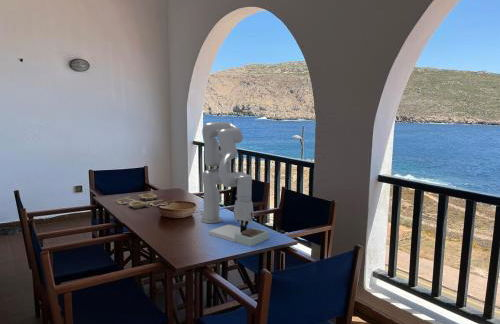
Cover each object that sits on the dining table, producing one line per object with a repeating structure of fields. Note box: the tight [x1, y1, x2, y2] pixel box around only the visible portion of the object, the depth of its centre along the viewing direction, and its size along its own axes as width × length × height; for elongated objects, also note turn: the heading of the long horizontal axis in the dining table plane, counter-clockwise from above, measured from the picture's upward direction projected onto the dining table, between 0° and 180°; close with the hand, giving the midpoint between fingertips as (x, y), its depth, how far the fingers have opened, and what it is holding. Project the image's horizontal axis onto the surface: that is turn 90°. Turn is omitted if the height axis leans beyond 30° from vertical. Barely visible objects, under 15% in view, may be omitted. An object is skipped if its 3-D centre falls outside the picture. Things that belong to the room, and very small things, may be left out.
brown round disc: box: [242, 227, 260, 238], centre depth 195 cm, size 7×7×3 cm
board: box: [208, 224, 242, 243], centre depth 203 cm, size 18×16×2 cm
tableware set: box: [115, 192, 164, 209], centre depth 267 cm, size 35×29×4 cm
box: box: [234, 227, 270, 247], centre depth 194 cm, size 10×15×4 cm
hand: (243, 232), depth 198 cm, fingers closed
